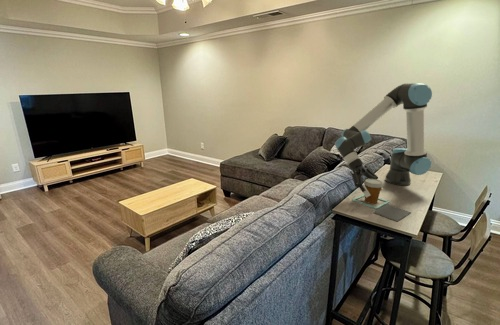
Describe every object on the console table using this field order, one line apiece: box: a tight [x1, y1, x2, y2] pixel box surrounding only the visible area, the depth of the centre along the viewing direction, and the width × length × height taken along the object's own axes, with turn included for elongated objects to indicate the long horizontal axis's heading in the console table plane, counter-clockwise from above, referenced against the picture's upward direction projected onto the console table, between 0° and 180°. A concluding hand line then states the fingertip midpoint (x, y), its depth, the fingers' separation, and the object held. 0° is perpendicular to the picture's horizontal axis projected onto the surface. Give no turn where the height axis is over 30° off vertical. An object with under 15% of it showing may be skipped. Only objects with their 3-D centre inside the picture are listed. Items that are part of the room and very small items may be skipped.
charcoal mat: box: [372, 203, 412, 223], centre depth 134 cm, size 15×12×1 cm
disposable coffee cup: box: [363, 178, 383, 205], centre depth 146 cm, size 10×10×12 cm
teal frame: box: [351, 193, 391, 210], centre depth 148 cm, size 14×14×1 cm
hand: (375, 193), depth 145 cm, fingers open, 13 cm apart
